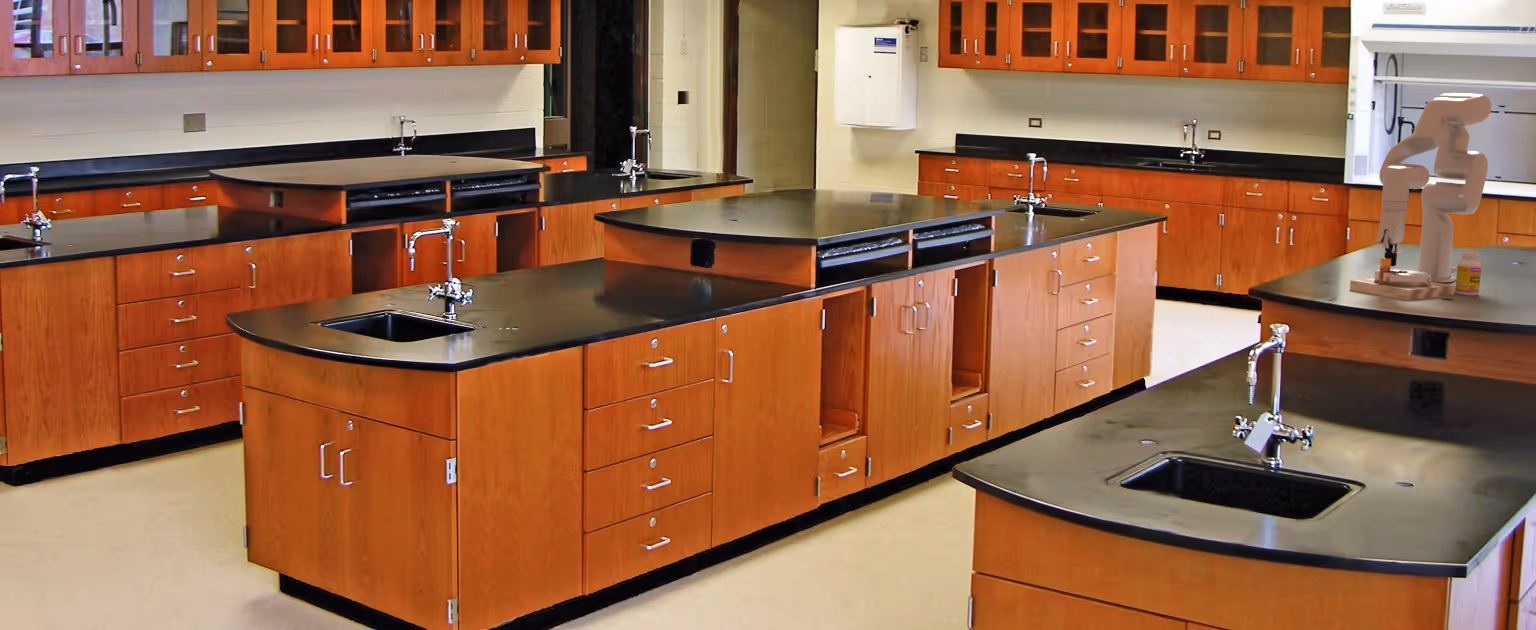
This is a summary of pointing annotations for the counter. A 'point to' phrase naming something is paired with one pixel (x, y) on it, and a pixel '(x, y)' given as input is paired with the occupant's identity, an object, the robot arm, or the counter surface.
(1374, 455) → the counter surface
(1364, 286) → the dial base
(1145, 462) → the counter surface
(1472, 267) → the supplement bottle
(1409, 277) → the dial
